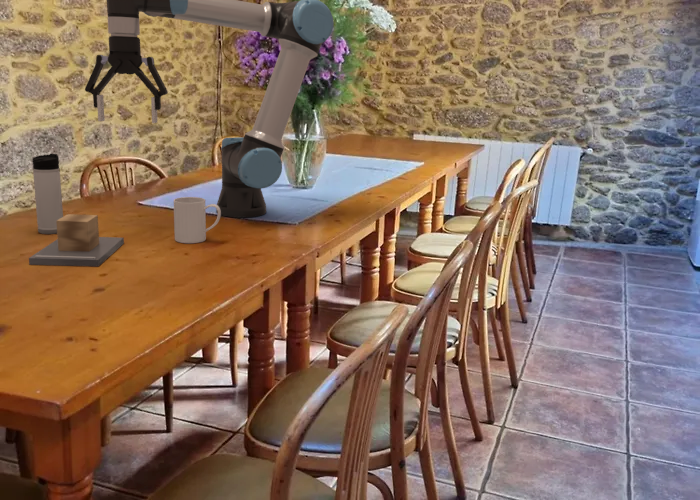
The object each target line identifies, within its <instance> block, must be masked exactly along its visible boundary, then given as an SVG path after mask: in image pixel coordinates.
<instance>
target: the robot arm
mask: <svg viewBox="0 0 700 500" xmlns="http://www.w3.org/2000/svg"><path fill="white" fill-rule="evenodd" d="M106 9H107V11H106V13H107V33H108V34H109V37H108V52H109V53H108V54H109V55H108V56H106V55H103V54H97V55H96V57H95V59H96V60H95V65H94V67H93V69H92V72H91V73H90V76H89V79H88V81H87V83H86V85H85V88H84V92H86V93H89V94H92V98H93V99H92V101H93V108H96V109H97V120H98V122H104V121H106V120H105V104H104V103H105V102H104V94H101V93H102V91H103V90H104V89H105V88H106V86H107V85H108V84H109V82H110V81H111V80H112V79H113V78H114V76H116V75H117V74H118V75H136V77H137V78H139V80H140V81H141V82H142V83H143V85H145V87H146V88H147V89H148V90H149V92H150V93H151V94H152V95H153V96H152V97H150V101H151V123H152V124H157V123H158V111H160V110H161V108H162V99H161V98H162V97H163V96H165V95H168V94H169V91H168V89H167V88H166V85H165V83H164V81H163V79H162V77H161V76H160V73H159V72H158V70H157V68H156V65H155V60H154V59H155V58H154V57H153V56H148V57H142V54H141V38H140V37H138V36H140V34H141V33H140V25H141V24H140V12H141V13H143V14H144V15H147V16H149V17H153V18H156V17H162V18H167V19H175V20H180V21H181V20H182V21H188V22H193V23H199V24H200V23H201V24H208V25H213V26H220V27H226V28H232V29H238V30H246V31H252V32H258V33H259V34H260V35H261V37H267V38H272V39H276V40H278V44H279V46H280V51H279V54H278V56H277V60H276V62H275V65H274V67H273V70H272V73H271V76H270V79H269V81H268V85H267V87H266V90H265V92H264V96H263V99H262V101H261V105H260V108H259V109H258V113H257V115H256V118H255V121H254V124H253V127H252V129H251V130H249V131H247V132H245V133H244V135H243V136H242V137H241V136H237V137H224V138H223V139H222V140H221V147H220V151H221V190H220V193H219V196H218V199H217V203H216V205H218V206H219V208H220V210H221V216H223V217H229V218H230V217H231V218H256V217H260V216H264V215H266V214H267V203H266V201H265V197H264V195H263V191H262V189H266V188H268V187H269V188H270V187H271V186H273V185H274V184H275V183H276V182H277V181H278V180H279V178H280V177H281V174H282V172H283V171H282V170H283V162H282V158H281V157H282V155H283V152H284V150H285V146H284V145H283V142H282V139H283V136H284V133H285V131H286V127H287V126H288V123H289V119H290V117H291V114H292V111H293V109H294V105H295V103H296V100H297V96H298V94H299V93H300V92H299V91H300V89H301V86H302V83H303V80H304V78H305V74H306V72H307V70H308V67H309V64H310V61H311V60H313V59H314V58H316V57H318V56H319V55H318V54H319V52H320V49H321V46H322V44H323V43H324V42H326V41H327V40H328V39H329V38H330V37H331V36H332V33H333V30H334V22H335V21H334V17H333V13H332V12H331V10H330V9H329V7H328V6H327V5H326V4H325V3H324V2H323V1H321V0H296V1H295V0H293V1H289V2H272V1H271V2H270V1H265V2H263V3H262V4H259V3H253V2H248V1H242V0H106ZM107 62H108V63H109V64H110V66H111V67H110V68H109V69H108V70H107V72H106V74H105V75H104V76H103V77H102V78H101V80H100V81H99V82H98V84H97V81H98V78H99V77H100V75H101V73H102V70H103V68H104V65H106V63H107ZM142 64H144V65H145V66H146V67H147V68H148V71H149V72H150V74H151V76H152V79H153V80H154V82H155V84H156V85H154V84H153V82H152V81H151V80H150V78H148V76H147V75H146V74H145V73H144V71H143V70H142V69H141V68H140V67H141V65H142ZM95 85H96V86H95ZM156 86H157V87H156ZM215 209H216V208H215ZM265 213H266V214H265ZM216 214H218V211H217V209H216Z"/></svg>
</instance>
